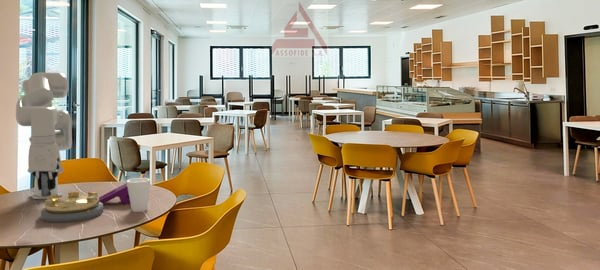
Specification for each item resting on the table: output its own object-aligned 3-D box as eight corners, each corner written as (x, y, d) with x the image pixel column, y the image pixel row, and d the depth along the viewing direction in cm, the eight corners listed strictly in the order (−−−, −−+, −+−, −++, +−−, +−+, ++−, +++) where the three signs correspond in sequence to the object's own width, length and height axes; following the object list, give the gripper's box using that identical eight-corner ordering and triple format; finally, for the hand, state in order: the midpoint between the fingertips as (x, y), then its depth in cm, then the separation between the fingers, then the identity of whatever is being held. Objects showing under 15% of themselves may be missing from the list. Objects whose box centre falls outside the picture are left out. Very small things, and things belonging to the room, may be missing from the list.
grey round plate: (27, 220, 177) (26, 212, 177) (71, 205, 199) (71, 198, 199) (74, 224, 171) (74, 217, 170) (115, 209, 193) (114, 202, 192)
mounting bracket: (103, 219, 198) (141, 199, 202) (93, 203, 197) (132, 183, 201) (106, 213, 207) (142, 194, 211) (96, 198, 205) (133, 179, 210)
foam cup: (131, 207, 196) (130, 178, 195) (153, 206, 197) (152, 177, 196) (125, 213, 187) (123, 182, 186) (147, 212, 188) (146, 182, 186)
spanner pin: (39, 196, 165) (38, 169, 165) (45, 194, 168) (45, 168, 168) (47, 196, 164) (46, 169, 164) (53, 194, 168) (52, 168, 167)
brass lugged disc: (98, 210, 179) (98, 199, 179) (41, 215, 171) (41, 204, 171) (99, 199, 197) (99, 189, 197) (48, 203, 190) (47, 193, 189)
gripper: (15, 141, 162) (19, 191, 163) (59, 141, 161) (62, 191, 163) (28, 139, 169) (32, 187, 171) (71, 139, 168) (73, 187, 170)
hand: (46, 188), depth 167 cm, fingers closed on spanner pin, 3 cm apart
